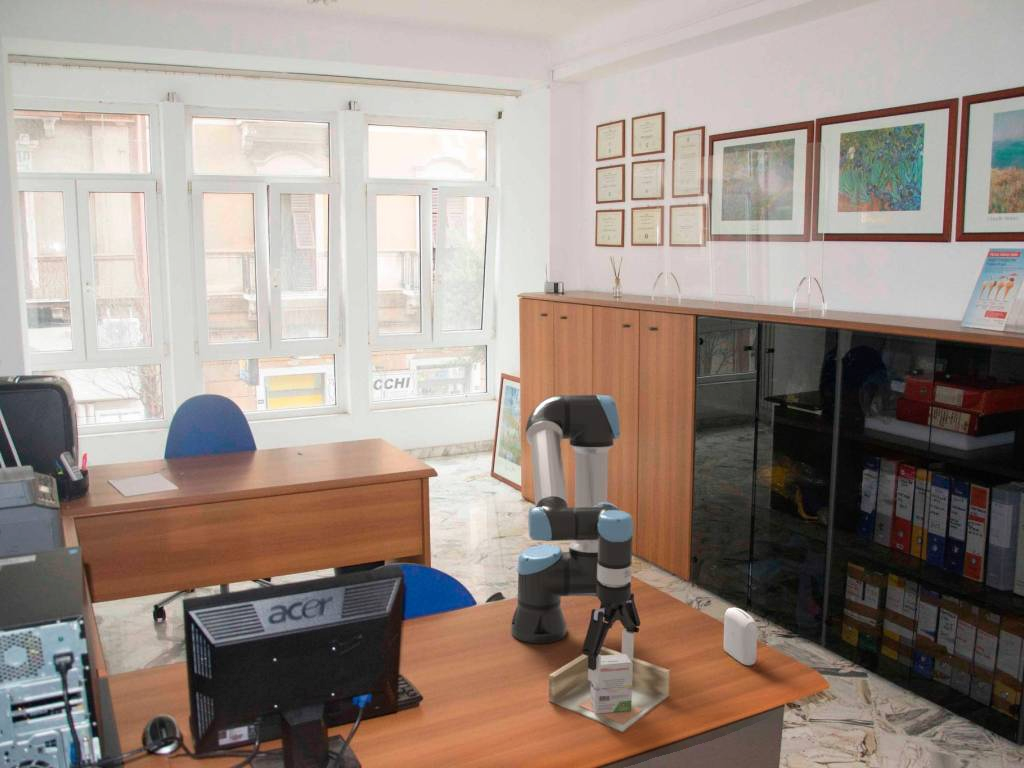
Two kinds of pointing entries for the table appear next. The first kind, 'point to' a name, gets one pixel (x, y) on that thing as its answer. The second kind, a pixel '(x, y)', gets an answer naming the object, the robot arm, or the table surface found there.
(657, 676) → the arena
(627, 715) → the pad
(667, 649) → the table surface
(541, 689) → the table surface
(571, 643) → the table surface
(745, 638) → the photo printer
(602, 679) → the ink box
